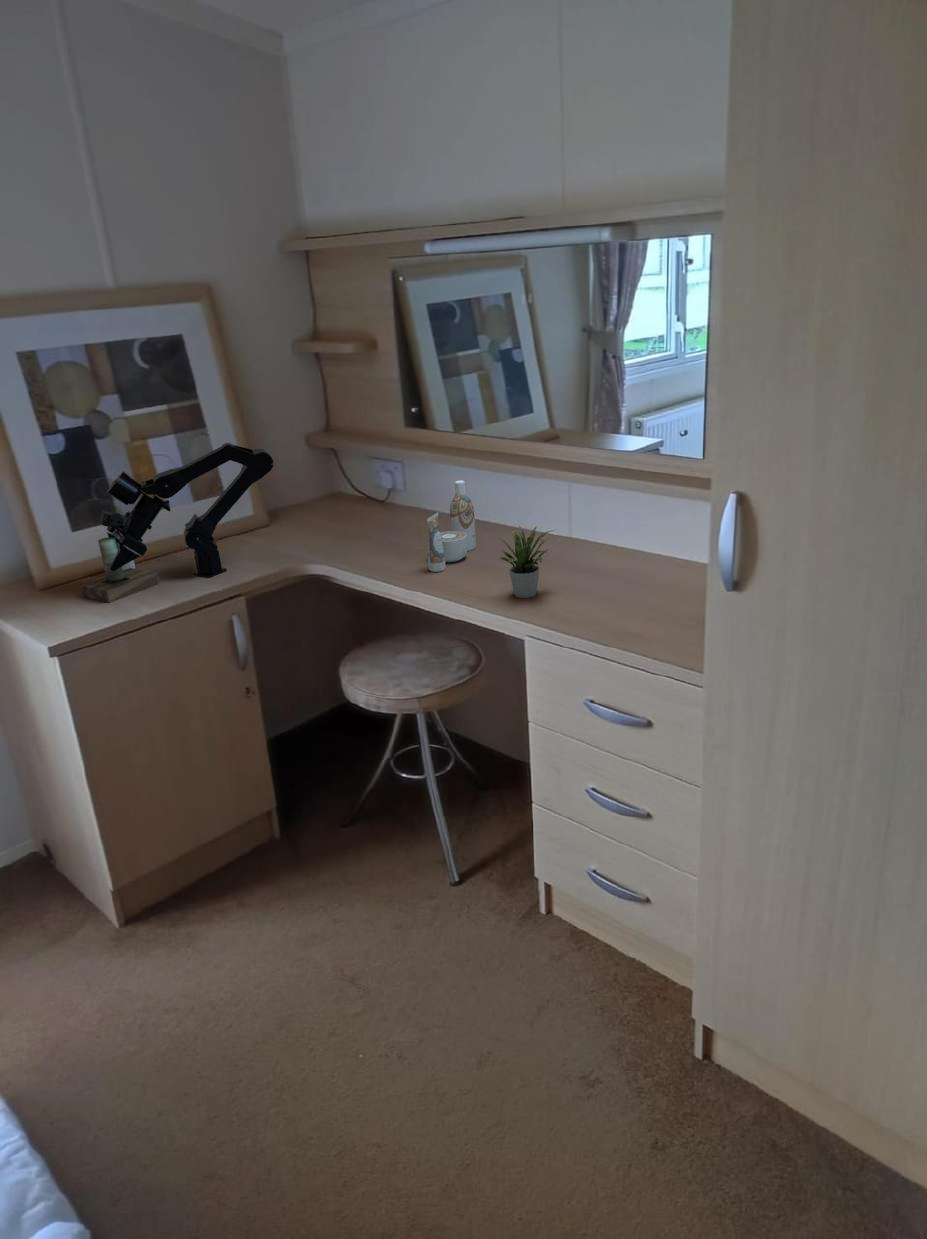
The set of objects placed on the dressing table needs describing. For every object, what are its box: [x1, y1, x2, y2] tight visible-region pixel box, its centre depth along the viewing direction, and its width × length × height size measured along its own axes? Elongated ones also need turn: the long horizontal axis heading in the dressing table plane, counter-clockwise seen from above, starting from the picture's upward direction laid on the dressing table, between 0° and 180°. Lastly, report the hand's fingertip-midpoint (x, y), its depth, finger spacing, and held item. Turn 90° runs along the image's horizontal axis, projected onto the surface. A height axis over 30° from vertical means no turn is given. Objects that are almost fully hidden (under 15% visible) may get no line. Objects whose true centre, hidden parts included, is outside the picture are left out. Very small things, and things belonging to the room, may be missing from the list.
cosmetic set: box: [426, 480, 477, 573], centre depth 232 cm, size 25×9×19 cm, turn 157°
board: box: [80, 568, 159, 603], centre depth 230 cm, size 11×15×3 cm
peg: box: [97, 536, 125, 585], centre depth 227 cm, size 4×4×14 cm
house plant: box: [493, 525, 555, 599], centre depth 204 cm, size 14×14×16 cm
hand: (107, 566), depth 227 cm, fingers open, 9 cm apart
